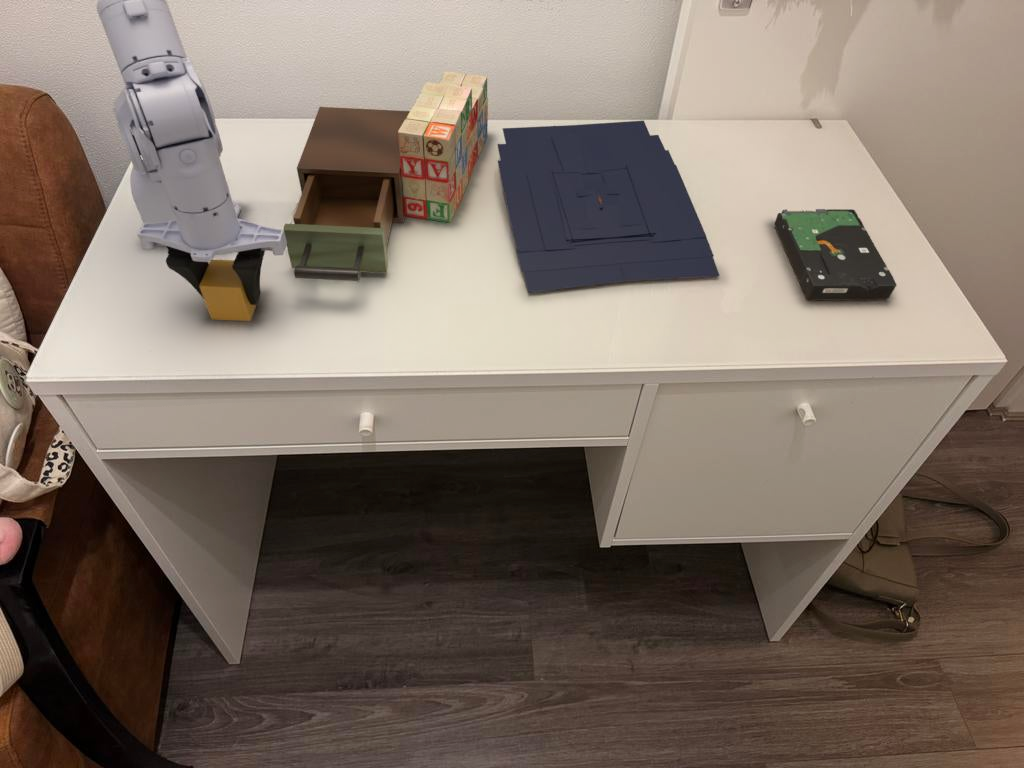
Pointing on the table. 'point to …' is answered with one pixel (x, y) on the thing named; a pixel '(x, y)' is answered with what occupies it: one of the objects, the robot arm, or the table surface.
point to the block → (225, 293)
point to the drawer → (341, 227)
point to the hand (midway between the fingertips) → (233, 297)
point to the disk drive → (834, 255)
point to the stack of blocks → (442, 144)
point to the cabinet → (355, 147)
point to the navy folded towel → (599, 207)
